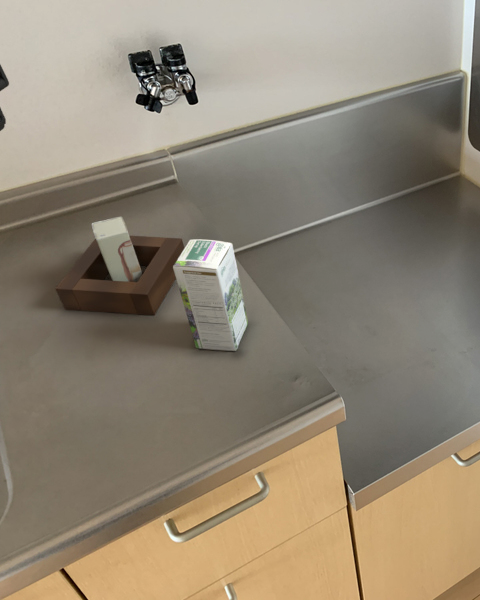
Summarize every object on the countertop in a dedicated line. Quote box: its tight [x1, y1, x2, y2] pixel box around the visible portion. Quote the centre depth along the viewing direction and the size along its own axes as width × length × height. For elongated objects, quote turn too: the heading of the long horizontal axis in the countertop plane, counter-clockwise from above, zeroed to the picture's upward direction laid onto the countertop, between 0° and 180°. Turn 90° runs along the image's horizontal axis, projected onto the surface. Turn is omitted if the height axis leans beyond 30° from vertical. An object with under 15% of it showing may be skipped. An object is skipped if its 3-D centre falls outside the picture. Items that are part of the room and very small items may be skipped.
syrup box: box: [173, 238, 249, 352], centre depth 80 cm, size 6×6×14 cm
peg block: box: [54, 235, 185, 316], centre depth 92 cm, size 14×14×4 cm
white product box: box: [91, 216, 143, 282], centre depth 90 cm, size 5×4×10 cm
